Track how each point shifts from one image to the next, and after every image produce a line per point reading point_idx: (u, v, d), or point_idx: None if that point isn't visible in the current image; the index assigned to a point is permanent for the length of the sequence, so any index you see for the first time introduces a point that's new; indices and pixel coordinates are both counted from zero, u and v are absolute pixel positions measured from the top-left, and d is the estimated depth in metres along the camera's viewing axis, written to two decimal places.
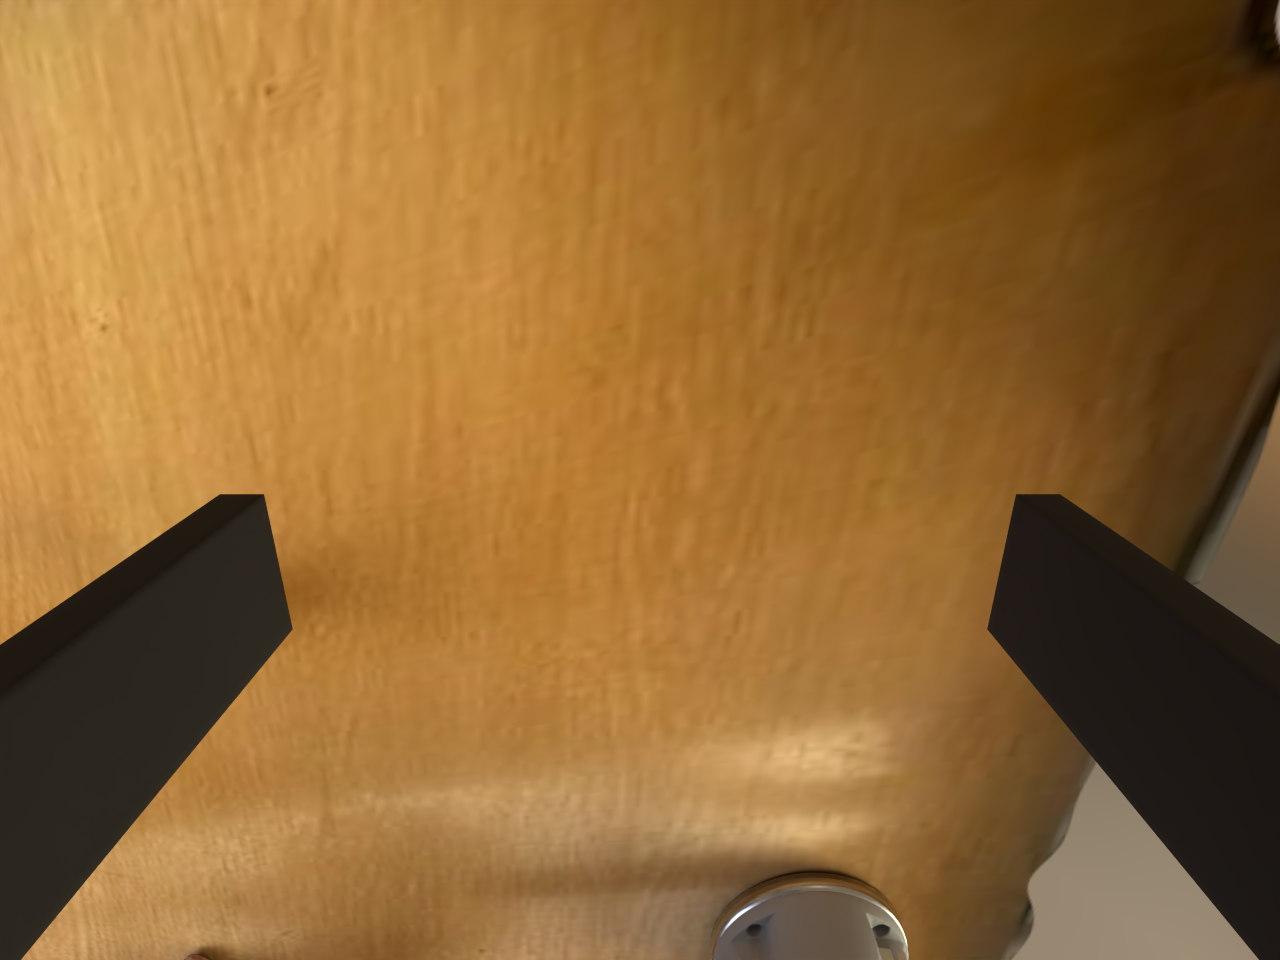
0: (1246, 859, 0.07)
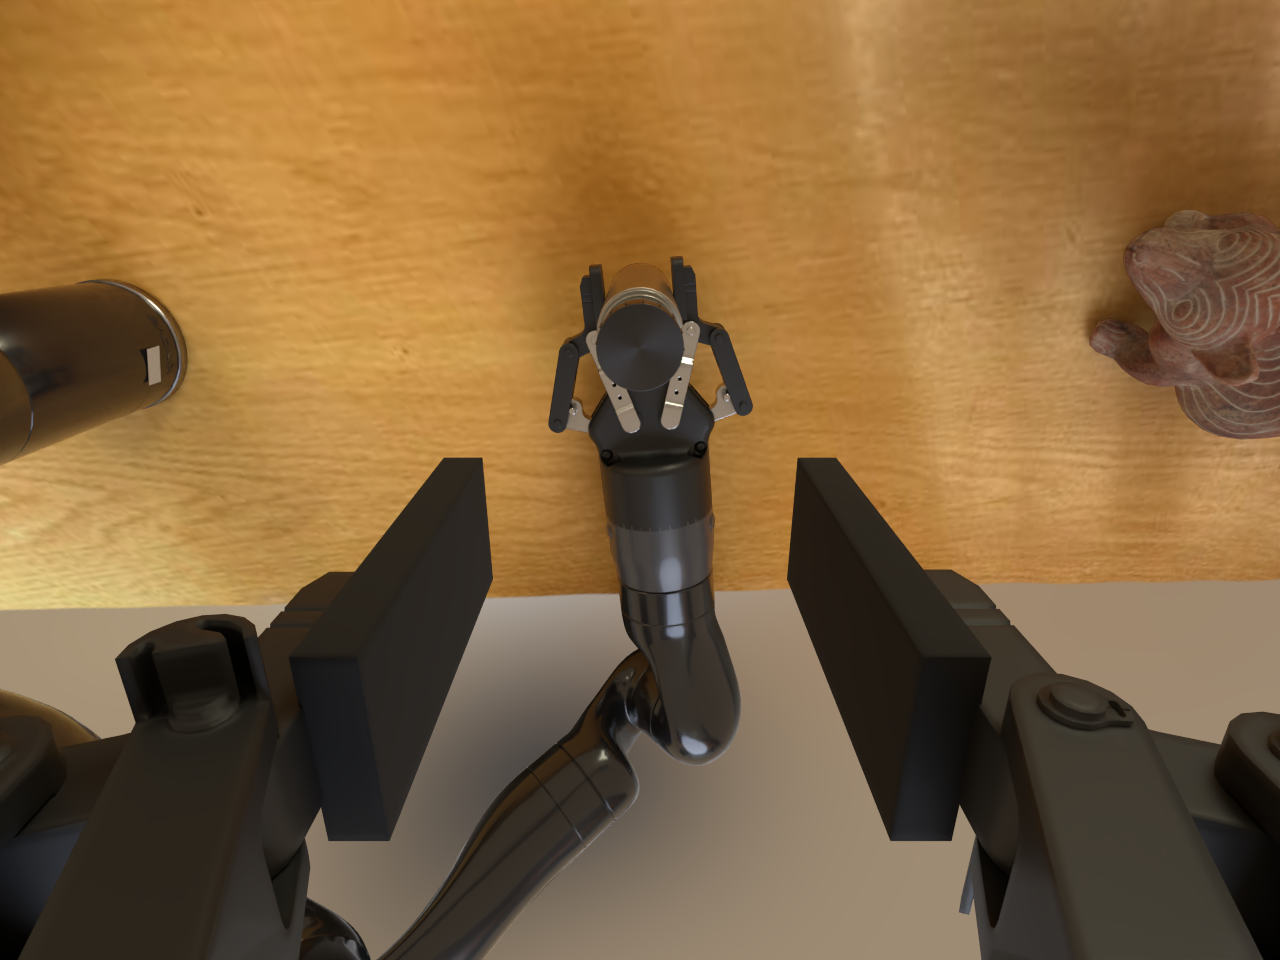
0: (875, 735, 0.09)
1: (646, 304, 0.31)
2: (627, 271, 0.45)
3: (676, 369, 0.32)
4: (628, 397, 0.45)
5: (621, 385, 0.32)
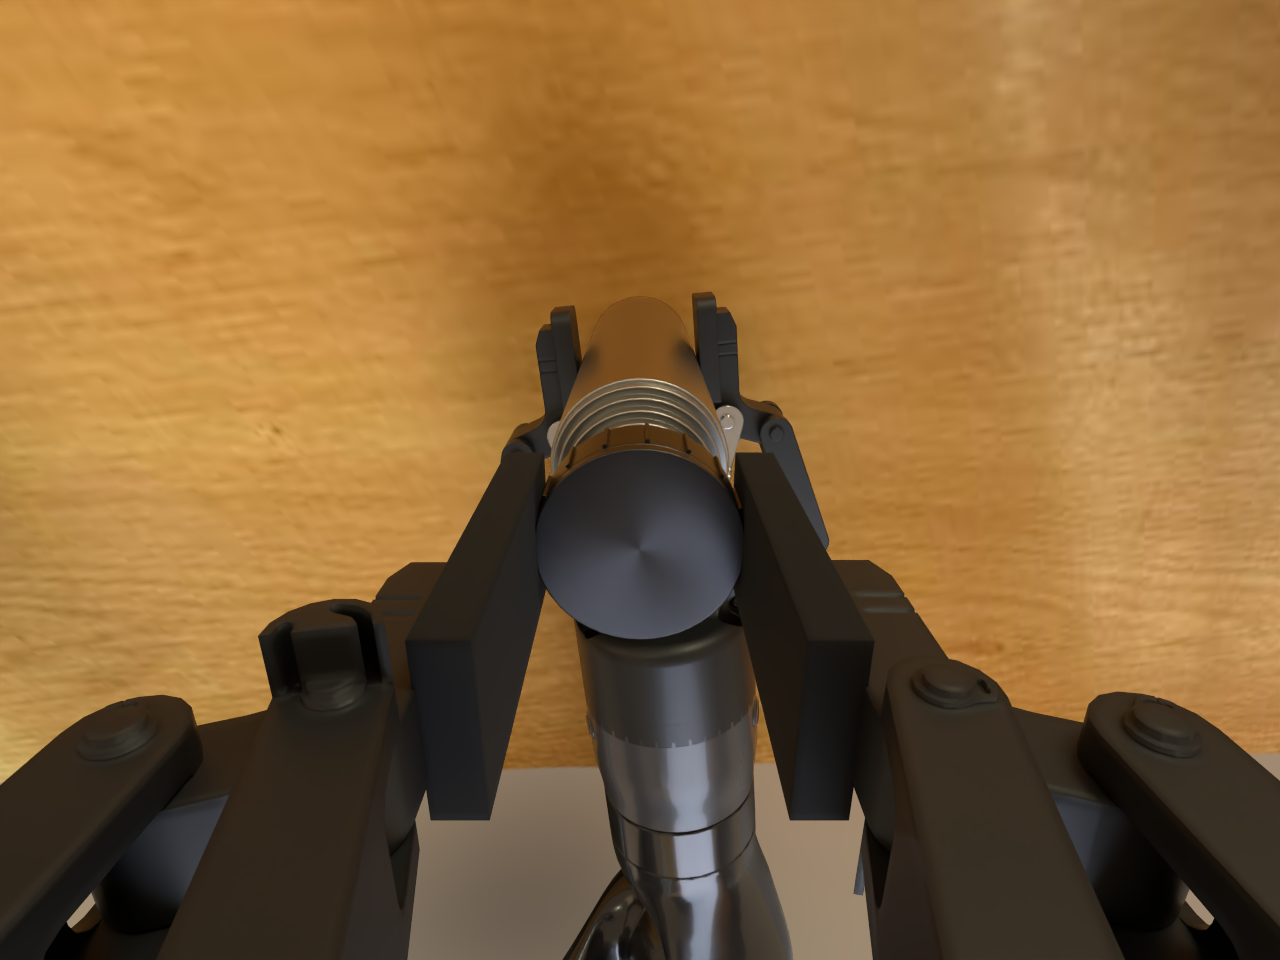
0: (781, 718, 0.09)
1: (655, 450, 0.12)
2: (618, 316, 0.27)
3: (726, 594, 0.13)
4: None
5: (596, 627, 0.14)
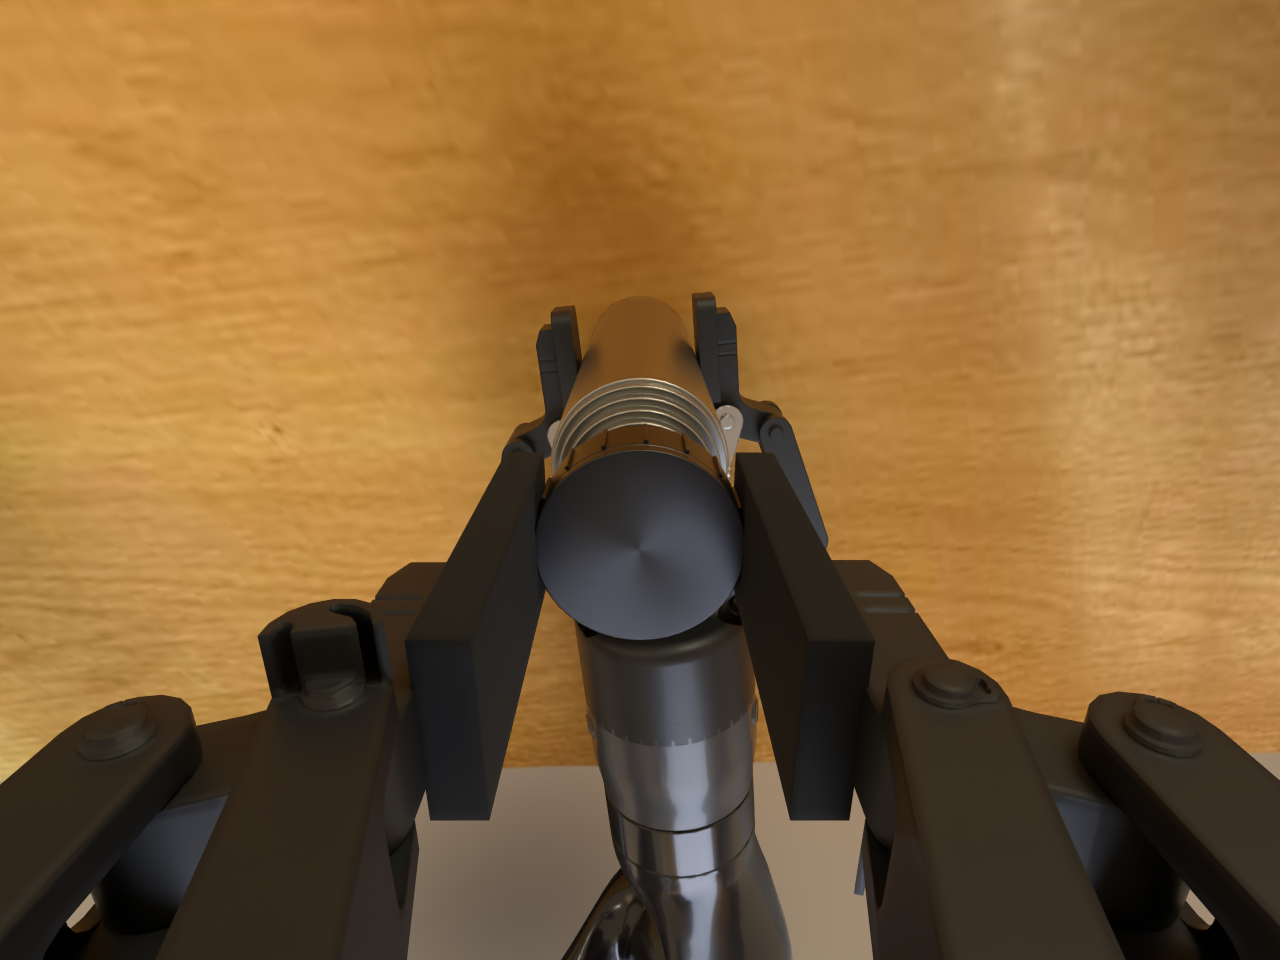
0: (782, 719, 0.09)
1: (540, 573, 0.13)
2: (618, 316, 0.27)
3: (652, 453, 0.12)
4: None
5: (741, 556, 0.13)
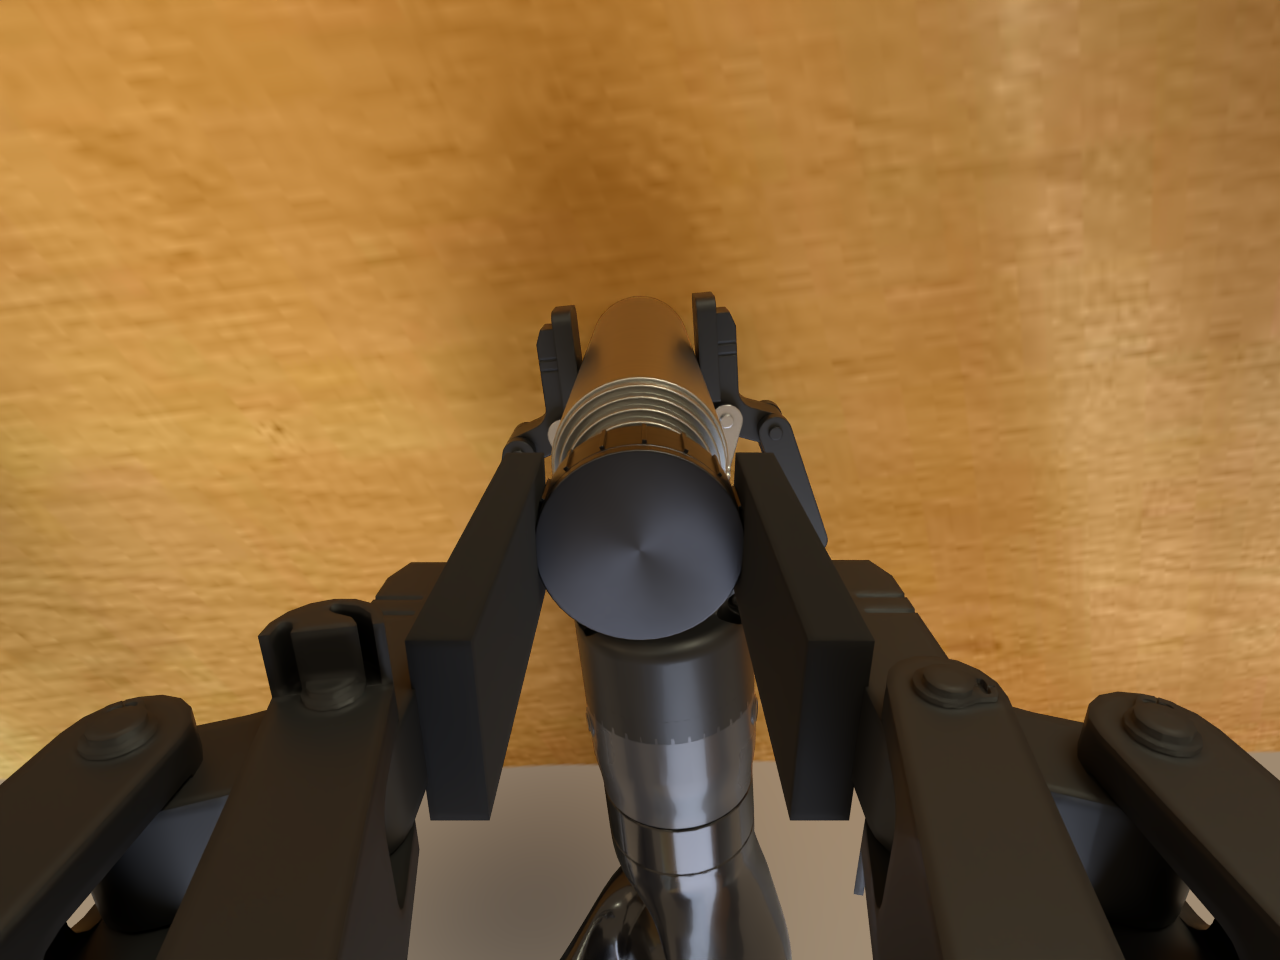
0: (781, 719, 0.09)
1: (702, 620, 0.14)
2: (619, 316, 0.27)
3: (542, 576, 0.13)
4: None
5: (603, 461, 0.12)
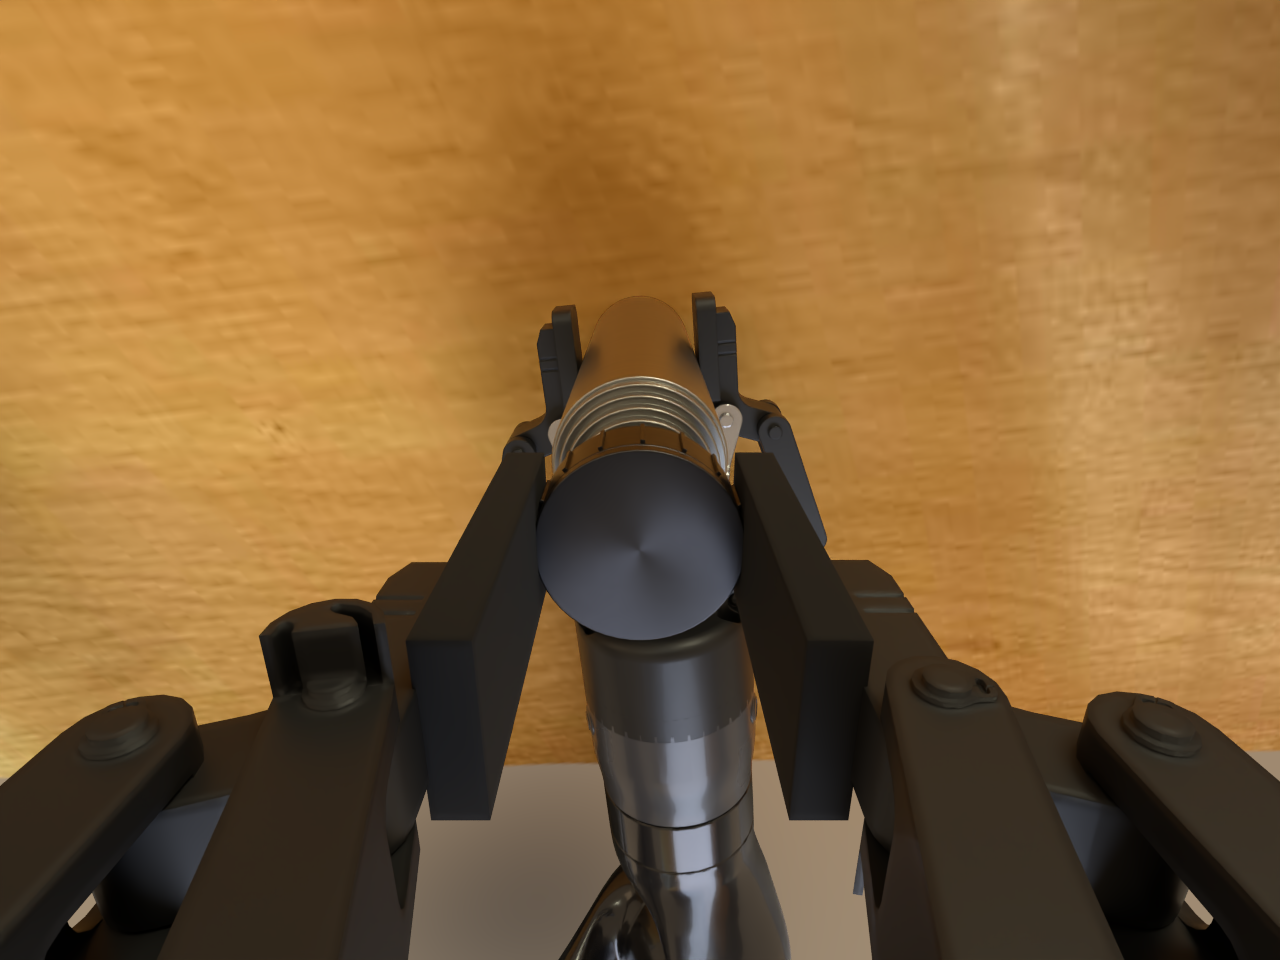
0: (780, 719, 0.09)
1: (692, 463, 0.12)
2: (619, 315, 0.27)
3: (703, 618, 0.14)
4: None
5: (568, 611, 0.13)
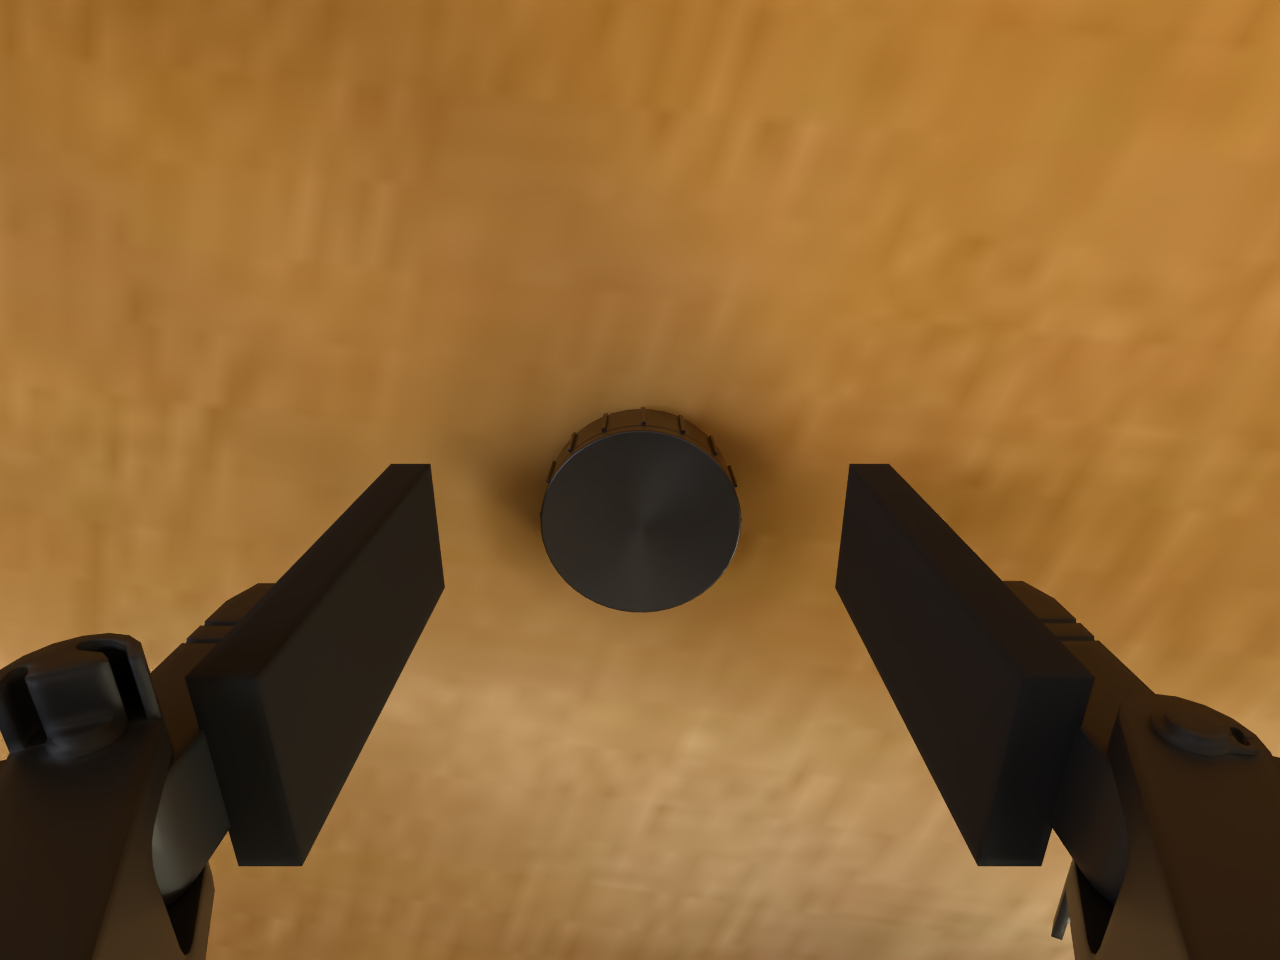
0: (957, 754, 0.09)
1: (690, 443, 0.13)
2: None
3: (700, 591, 0.14)
4: None
5: (573, 584, 0.14)
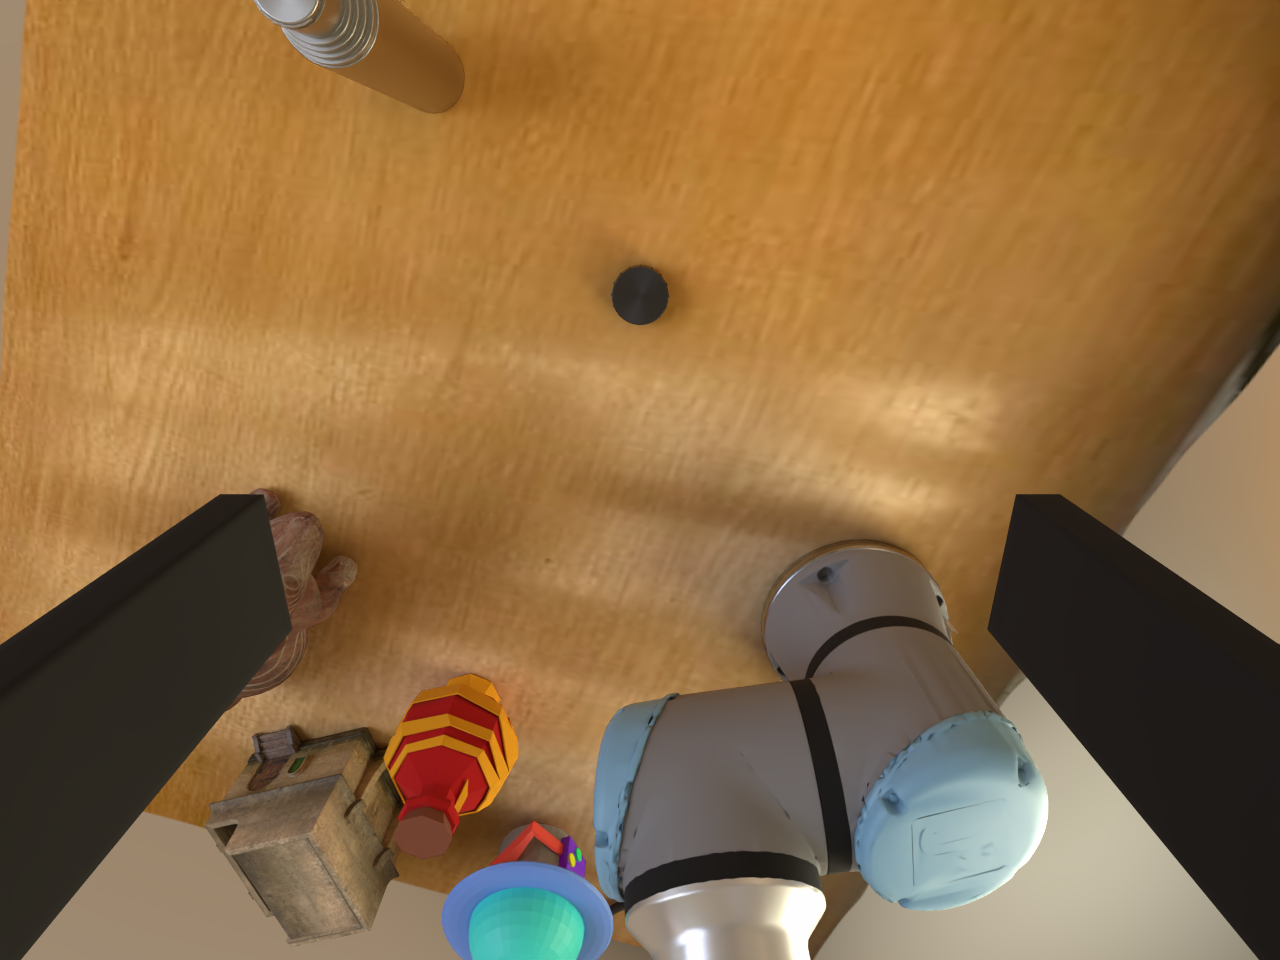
0: (1246, 858, 0.07)
1: (653, 270, 0.48)
2: (444, 61, 0.41)
3: (657, 317, 0.50)
4: None
5: (620, 315, 0.49)
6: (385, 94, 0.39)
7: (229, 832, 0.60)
